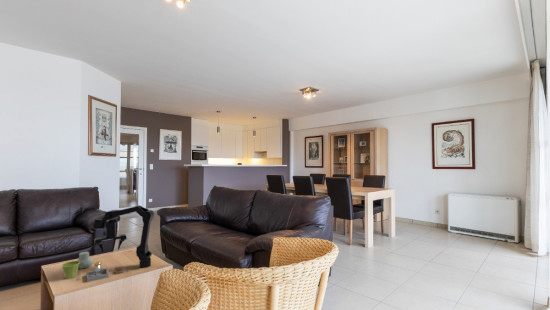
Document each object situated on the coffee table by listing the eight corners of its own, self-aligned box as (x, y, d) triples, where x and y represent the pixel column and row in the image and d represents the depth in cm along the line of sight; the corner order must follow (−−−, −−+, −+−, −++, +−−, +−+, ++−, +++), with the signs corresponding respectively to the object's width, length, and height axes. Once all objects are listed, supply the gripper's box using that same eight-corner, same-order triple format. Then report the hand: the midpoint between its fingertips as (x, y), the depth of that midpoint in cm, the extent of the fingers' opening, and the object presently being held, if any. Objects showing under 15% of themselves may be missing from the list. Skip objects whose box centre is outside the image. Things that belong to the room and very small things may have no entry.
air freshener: (95, 264, 194) (95, 250, 194) (87, 269, 185) (87, 255, 186) (80, 264, 194) (81, 250, 194) (71, 269, 186) (72, 254, 186)
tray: (107, 272, 180) (107, 268, 180) (108, 278, 170) (108, 273, 171) (86, 277, 173) (86, 272, 173) (87, 283, 164) (87, 278, 164)
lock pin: (101, 275, 174) (101, 261, 175) (101, 277, 171) (101, 262, 172) (94, 276, 172) (94, 262, 172) (94, 278, 169) (94, 264, 169)
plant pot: (78, 278, 172) (78, 264, 172) (60, 281, 167) (60, 267, 167) (80, 272, 180) (80, 259, 180) (63, 276, 175) (63, 262, 175)
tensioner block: (126, 267, 188) (126, 264, 188) (128, 273, 179) (128, 269, 179) (109, 271, 182) (109, 268, 182) (110, 276, 173) (110, 273, 173)
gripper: (124, 224, 199) (124, 245, 198) (94, 228, 188) (94, 251, 187) (126, 227, 190) (126, 249, 189) (94, 231, 179) (94, 255, 178)
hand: (110, 251), depth 186 cm, fingers open, 9 cm apart
